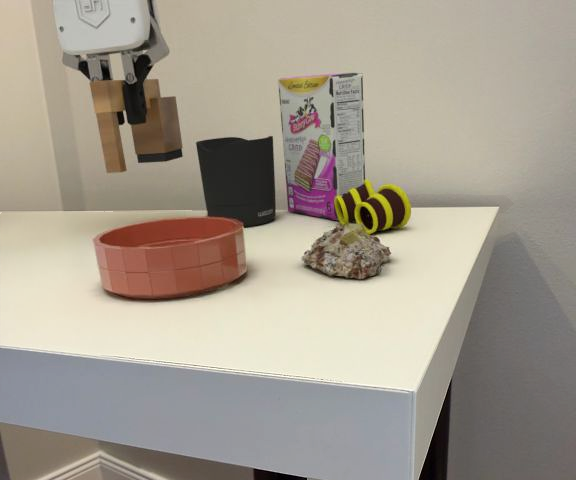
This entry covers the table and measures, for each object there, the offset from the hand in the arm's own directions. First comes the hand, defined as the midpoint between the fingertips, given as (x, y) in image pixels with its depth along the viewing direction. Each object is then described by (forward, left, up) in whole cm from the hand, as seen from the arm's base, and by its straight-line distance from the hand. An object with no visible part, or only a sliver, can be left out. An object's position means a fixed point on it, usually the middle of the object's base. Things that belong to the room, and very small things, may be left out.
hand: (126, 123), depth 73 cm
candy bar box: (+19, +14, -13) cm, 27 cm away
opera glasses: (+26, +5, -13) cm, 30 cm away
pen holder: (+9, +10, -13) cm, 19 cm away
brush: (0, +2, -5) cm, 5 cm away
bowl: (+12, -17, -13) cm, 24 cm away
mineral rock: (+27, -12, -13) cm, 32 cm away
